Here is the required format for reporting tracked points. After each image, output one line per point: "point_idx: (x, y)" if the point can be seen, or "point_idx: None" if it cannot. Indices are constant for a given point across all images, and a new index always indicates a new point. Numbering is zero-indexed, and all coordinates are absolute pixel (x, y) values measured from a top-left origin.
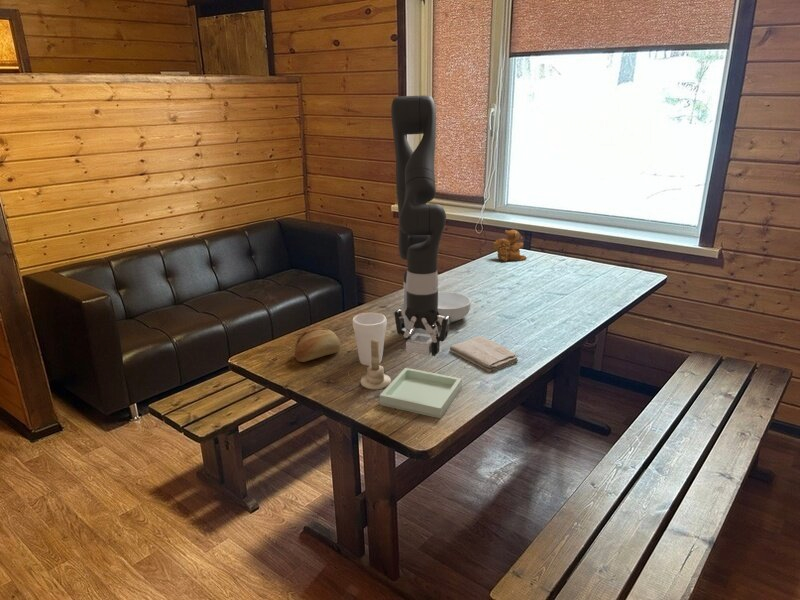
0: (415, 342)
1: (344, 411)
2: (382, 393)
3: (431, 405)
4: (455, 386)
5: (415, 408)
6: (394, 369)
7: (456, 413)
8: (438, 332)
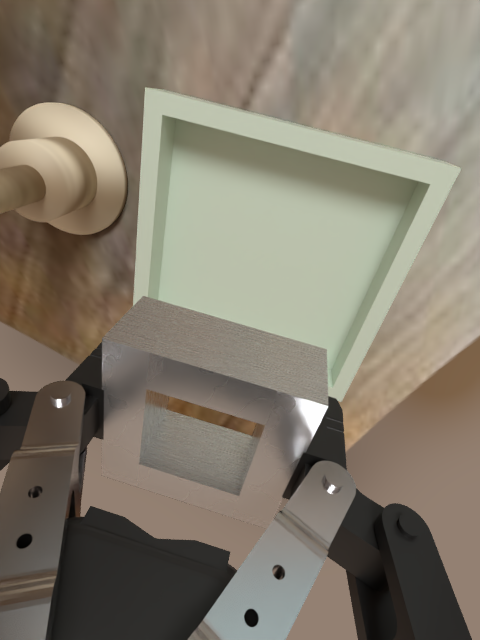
0: (166, 489)
1: (73, 356)
2: None
3: None
4: (412, 255)
5: None
6: (91, 11)
7: (394, 351)
8: (338, 527)
